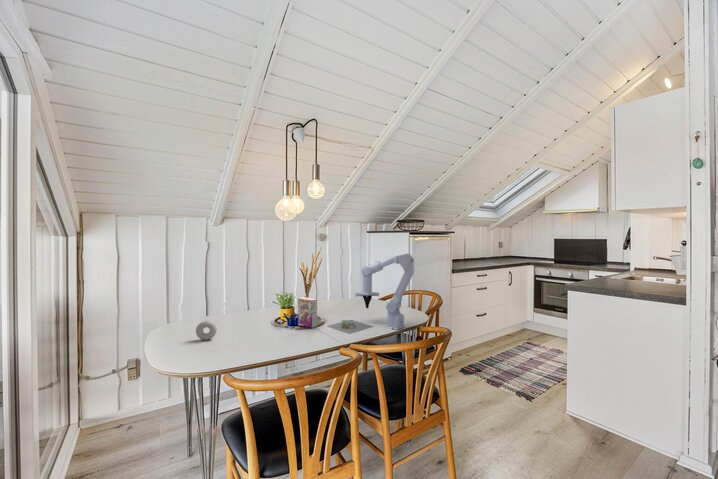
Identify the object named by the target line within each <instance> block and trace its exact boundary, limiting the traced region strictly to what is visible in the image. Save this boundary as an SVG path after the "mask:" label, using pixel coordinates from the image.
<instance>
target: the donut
mask: <svg viewBox="0 0 718 479" xmlns="http://www.w3.org/2000/svg"><path fill="white" fill-rule="evenodd" d="M206 328H208V329H209V332H207V333H206V332H204V329H206ZM217 330H218V329H217V325H216V323H214V322H213V321H211V320H202V322H200V323H198V325H197V326H196V328H195V334H196V336H197V338H199V340H203V341H208V340H212V339H213V338H214V337H215V336H216V334H217V332H218V331H217Z"/></svg>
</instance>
